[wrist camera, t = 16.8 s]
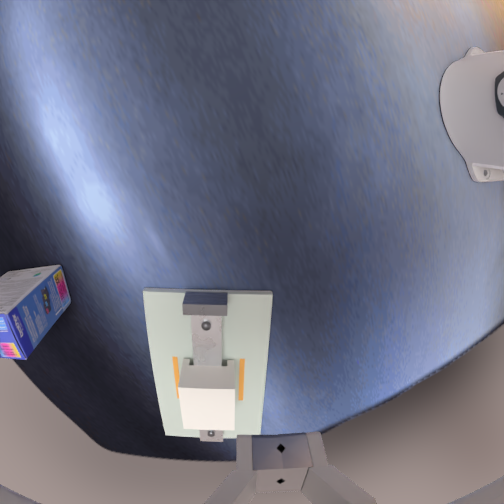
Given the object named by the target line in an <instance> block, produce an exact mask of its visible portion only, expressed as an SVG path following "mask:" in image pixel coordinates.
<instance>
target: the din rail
mask: <svg viewBox="0 0 504 504" xmlns="http://www.w3.org/2000/svg"><path fill="white" fill-rule="evenodd" d="M227 300H228V292H194V291H186V293H185V296H184V300H183V303H182V308H183V315H191V329H192V347H193V362H194V365H198V366H222V316H227ZM199 431H200V440H201V441H217V442H223V430H199Z"/></svg>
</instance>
